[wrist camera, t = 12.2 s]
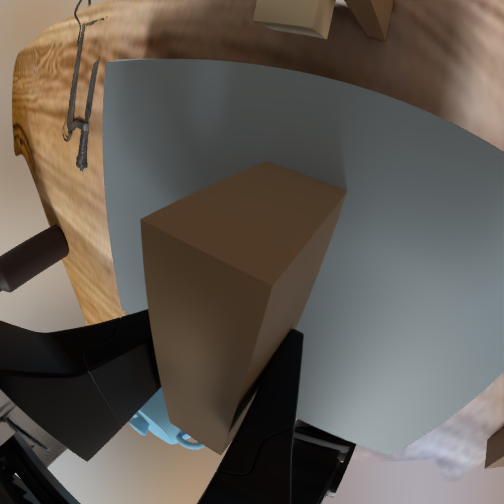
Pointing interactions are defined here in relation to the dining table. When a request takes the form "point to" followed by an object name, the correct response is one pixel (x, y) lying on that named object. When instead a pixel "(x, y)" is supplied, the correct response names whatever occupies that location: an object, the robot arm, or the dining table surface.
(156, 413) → the decorative pot
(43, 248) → the bottle
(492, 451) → the wooden block set
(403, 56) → the dining table surface
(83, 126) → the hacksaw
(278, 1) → the wooden key
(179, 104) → the lid
